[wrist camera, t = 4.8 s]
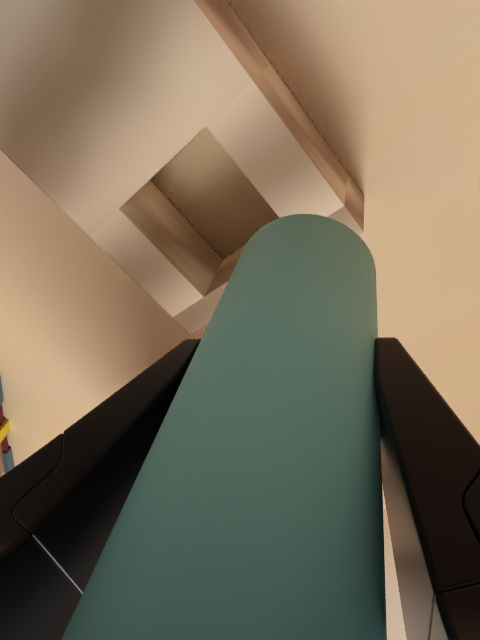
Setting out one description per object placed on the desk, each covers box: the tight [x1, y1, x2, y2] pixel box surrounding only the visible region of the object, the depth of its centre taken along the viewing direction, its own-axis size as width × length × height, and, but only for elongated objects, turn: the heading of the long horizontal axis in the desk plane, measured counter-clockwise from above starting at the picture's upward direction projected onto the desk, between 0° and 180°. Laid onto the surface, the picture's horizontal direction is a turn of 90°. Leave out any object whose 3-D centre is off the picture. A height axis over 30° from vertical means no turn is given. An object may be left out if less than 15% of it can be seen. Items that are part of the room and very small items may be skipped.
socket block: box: [0, 0, 364, 335], centre depth 18 cm, size 15×10×4 cm, turn 42°
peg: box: [61, 214, 387, 640], centre depth 8 cm, size 4×4×9 cm
